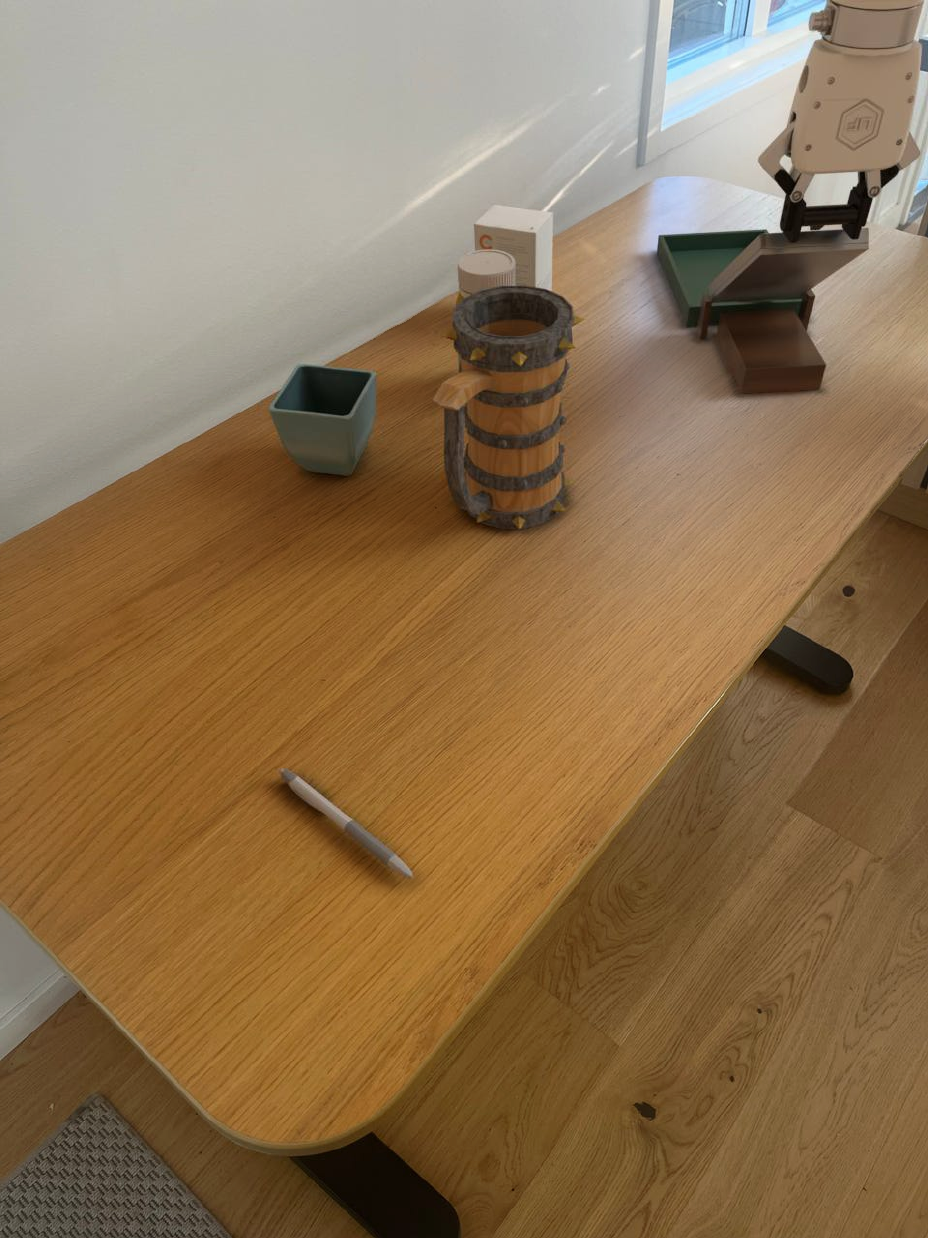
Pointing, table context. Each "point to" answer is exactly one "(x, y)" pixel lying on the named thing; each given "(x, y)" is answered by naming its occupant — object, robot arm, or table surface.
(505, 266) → the bottle
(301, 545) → the table surface
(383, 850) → the pen
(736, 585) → the table surface
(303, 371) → the flower pot
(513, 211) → the small box
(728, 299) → the grey pull-out drawer
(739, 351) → the stand
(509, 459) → the mug
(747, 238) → the tray
